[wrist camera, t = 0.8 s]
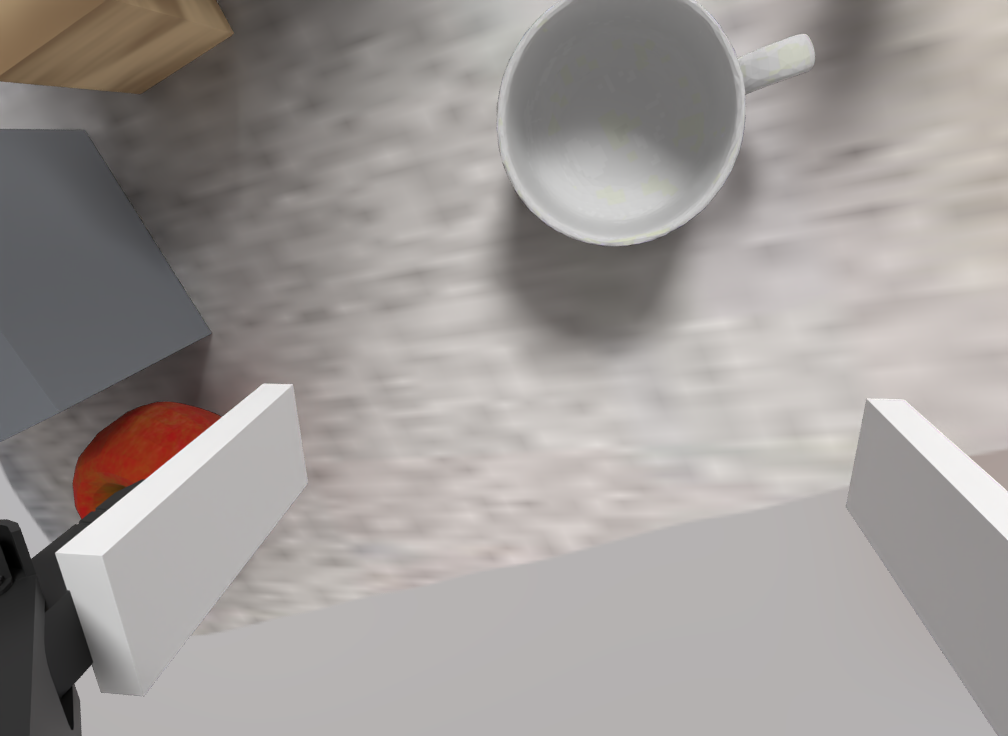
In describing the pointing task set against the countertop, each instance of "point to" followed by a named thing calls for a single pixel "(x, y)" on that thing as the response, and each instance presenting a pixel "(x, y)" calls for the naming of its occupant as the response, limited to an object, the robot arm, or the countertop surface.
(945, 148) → the countertop surface
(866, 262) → the countertop surface
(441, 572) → the countertop surface
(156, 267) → the grey hollow block
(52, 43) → the wooden block
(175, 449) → the apple
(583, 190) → the teacup
